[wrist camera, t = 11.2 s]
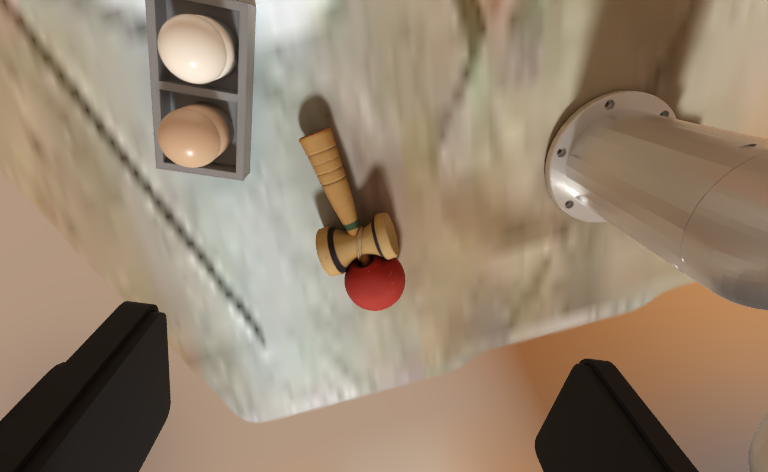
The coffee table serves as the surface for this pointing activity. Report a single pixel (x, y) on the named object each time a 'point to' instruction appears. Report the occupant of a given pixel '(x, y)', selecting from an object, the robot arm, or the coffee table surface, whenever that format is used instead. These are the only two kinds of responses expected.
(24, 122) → the coffee table surface
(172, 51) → the egg
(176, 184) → the coffee table surface
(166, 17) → the carton
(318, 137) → the kendama
